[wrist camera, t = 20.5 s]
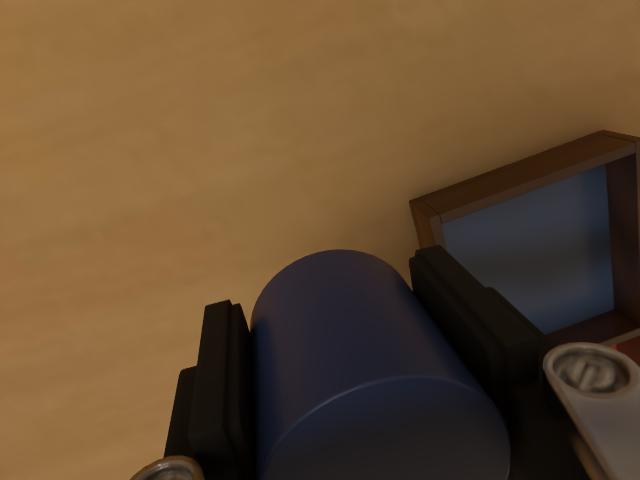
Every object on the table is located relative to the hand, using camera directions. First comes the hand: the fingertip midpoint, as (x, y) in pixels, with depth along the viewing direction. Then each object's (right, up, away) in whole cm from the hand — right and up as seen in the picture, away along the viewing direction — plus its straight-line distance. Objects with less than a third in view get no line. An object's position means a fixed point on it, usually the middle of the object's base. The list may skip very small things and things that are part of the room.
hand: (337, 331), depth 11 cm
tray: (+14, -4, +21) cm, 26 cm away
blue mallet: (0, -2, +1) cm, 3 cm away
